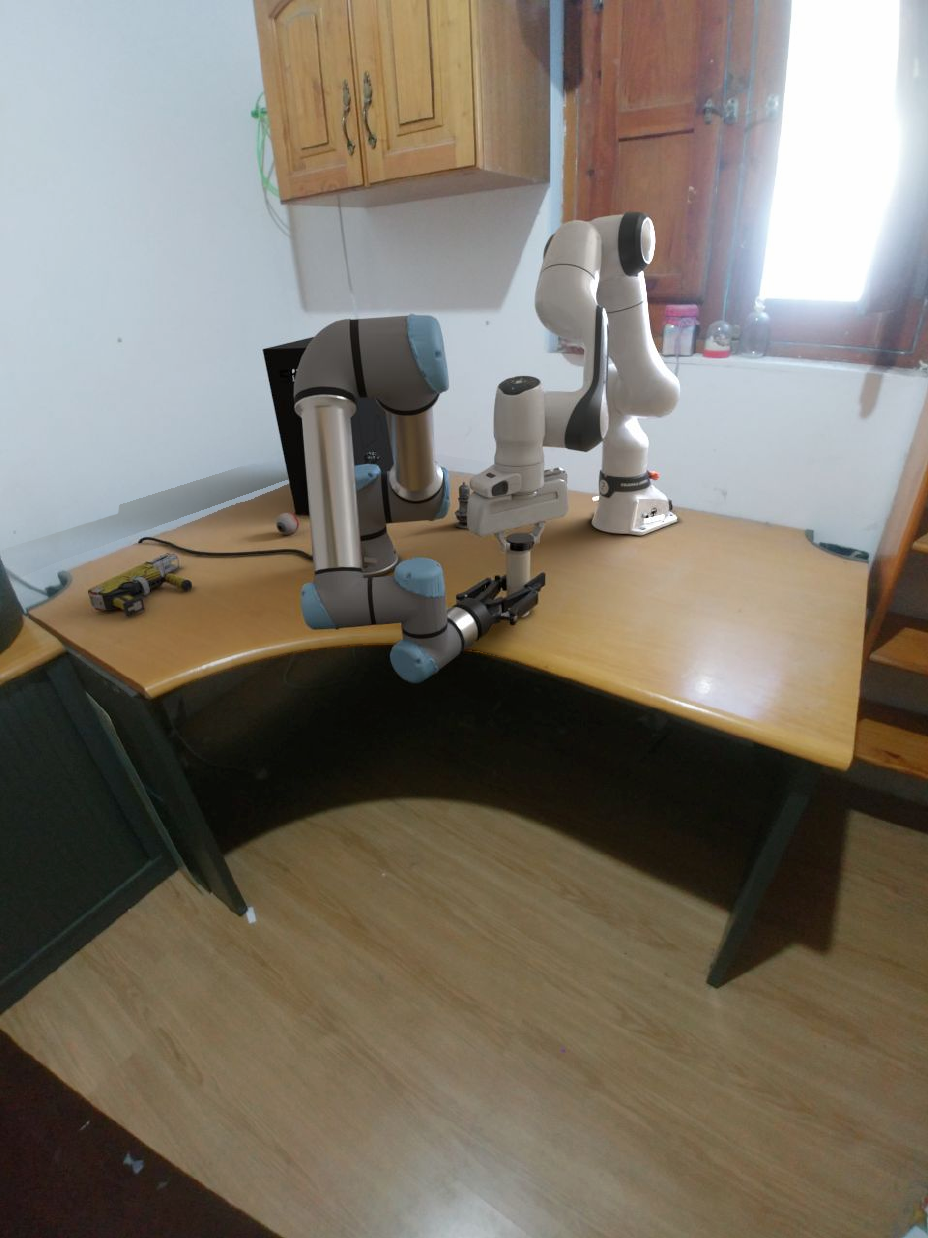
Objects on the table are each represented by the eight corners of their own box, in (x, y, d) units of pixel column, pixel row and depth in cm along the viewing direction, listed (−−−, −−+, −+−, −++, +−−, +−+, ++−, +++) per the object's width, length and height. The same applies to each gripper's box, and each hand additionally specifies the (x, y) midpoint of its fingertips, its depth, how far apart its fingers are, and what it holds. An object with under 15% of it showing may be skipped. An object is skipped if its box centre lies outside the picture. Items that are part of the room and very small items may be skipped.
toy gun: (216, 561, 144) (165, 550, 148) (137, 604, 124) (81, 590, 128) (219, 578, 146) (168, 567, 150) (142, 623, 126) (86, 609, 130)
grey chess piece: (474, 529, 161) (472, 485, 155) (453, 528, 162) (450, 485, 156) (478, 521, 166) (476, 478, 160) (457, 520, 167) (455, 478, 161)
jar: (533, 609, 122) (534, 540, 114) (522, 619, 119) (523, 549, 111) (513, 604, 124) (513, 536, 116) (502, 614, 121) (501, 544, 113)
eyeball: (273, 537, 164) (268, 516, 161) (287, 528, 169) (282, 508, 166) (291, 539, 161) (286, 518, 158) (305, 530, 166) (301, 510, 163)
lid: (502, 550, 113) (502, 542, 112) (509, 539, 117) (509, 531, 116) (530, 552, 111) (530, 544, 110) (535, 541, 116) (535, 533, 115)
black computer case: (359, 516, 174) (334, 346, 152) (295, 513, 179) (262, 349, 156) (400, 477, 206) (384, 331, 183) (345, 476, 210) (323, 334, 188)
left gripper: (426, 629, 113) (496, 581, 129) (504, 658, 103) (570, 602, 119) (422, 594, 109) (496, 549, 125) (503, 620, 100) (572, 568, 115)
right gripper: (557, 461, 114) (555, 530, 121) (461, 481, 106) (464, 553, 113) (577, 469, 109) (574, 540, 116) (478, 490, 101) (480, 565, 108)
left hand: (532, 575), depth 122 cm, fingers closed on jar, 5 cm apart
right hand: (519, 547), depth 114 cm, fingers closed on lid, 5 cm apart
